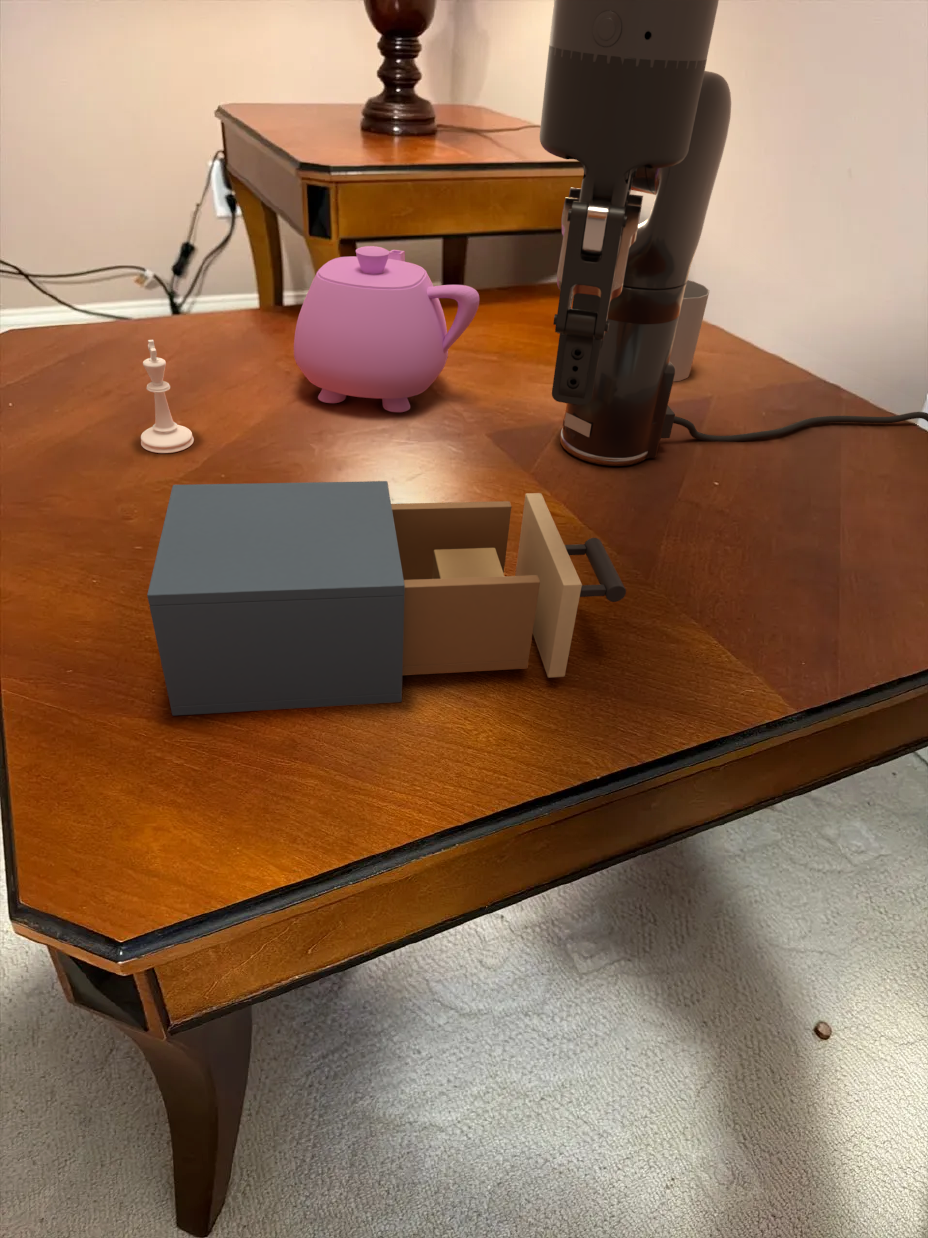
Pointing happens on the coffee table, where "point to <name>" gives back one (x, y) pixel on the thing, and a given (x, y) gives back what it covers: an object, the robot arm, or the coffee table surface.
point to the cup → (688, 328)
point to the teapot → (377, 328)
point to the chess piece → (162, 412)
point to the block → (466, 563)
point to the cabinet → (278, 597)
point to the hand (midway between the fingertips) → (578, 372)
